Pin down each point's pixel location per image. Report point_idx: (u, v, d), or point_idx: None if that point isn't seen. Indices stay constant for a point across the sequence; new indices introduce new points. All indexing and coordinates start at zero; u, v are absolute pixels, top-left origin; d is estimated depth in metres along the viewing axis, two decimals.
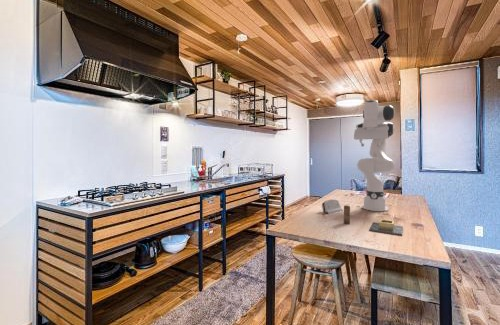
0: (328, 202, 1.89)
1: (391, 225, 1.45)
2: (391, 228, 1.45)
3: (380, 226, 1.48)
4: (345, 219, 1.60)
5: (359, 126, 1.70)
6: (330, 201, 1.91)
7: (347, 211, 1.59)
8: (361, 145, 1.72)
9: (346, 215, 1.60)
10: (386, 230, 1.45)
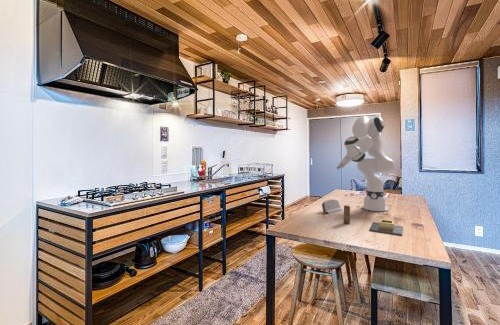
0: (328, 202, 1.89)
1: (391, 225, 1.45)
2: (391, 228, 1.45)
3: (380, 226, 1.48)
4: (345, 219, 1.60)
5: (360, 153, 1.64)
6: (330, 201, 1.91)
7: (347, 211, 1.59)
8: (343, 163, 1.63)
9: (346, 215, 1.60)
10: (386, 230, 1.45)
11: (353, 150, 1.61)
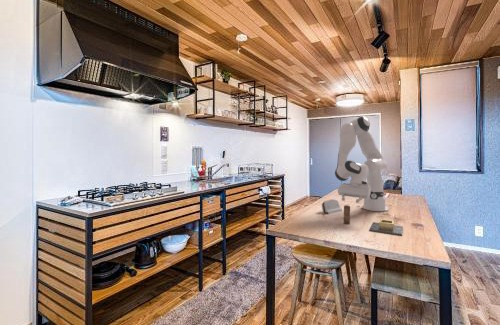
0: (328, 202, 1.89)
1: (391, 225, 1.45)
2: (391, 228, 1.45)
3: (380, 226, 1.48)
4: (345, 219, 1.60)
5: None
6: (330, 201, 1.91)
7: (347, 211, 1.59)
8: (358, 202, 1.64)
9: (346, 215, 1.60)
10: (386, 230, 1.45)
11: (369, 190, 1.64)
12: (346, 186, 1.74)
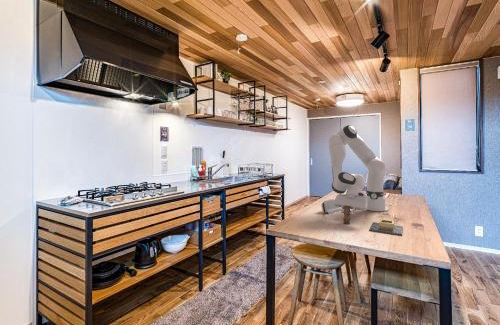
0: (328, 202, 1.89)
1: (391, 225, 1.45)
2: (391, 228, 1.45)
3: (380, 226, 1.48)
4: (345, 219, 1.60)
5: None
6: (329, 201, 1.91)
7: (347, 211, 1.59)
8: None
9: (346, 215, 1.60)
10: (386, 230, 1.45)
11: (366, 202, 1.58)
12: (342, 197, 1.68)
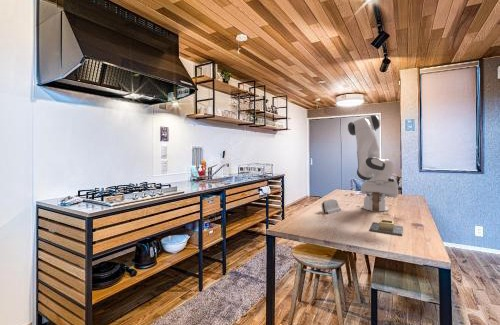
0: (327, 202, 1.89)
1: (391, 225, 1.45)
2: (391, 228, 1.45)
3: (380, 226, 1.48)
4: (374, 206, 1.51)
5: None
6: (329, 201, 1.91)
7: (376, 198, 1.50)
8: (381, 201, 1.50)
9: (375, 202, 1.50)
10: (386, 230, 1.45)
11: (397, 188, 1.49)
12: (370, 184, 1.59)
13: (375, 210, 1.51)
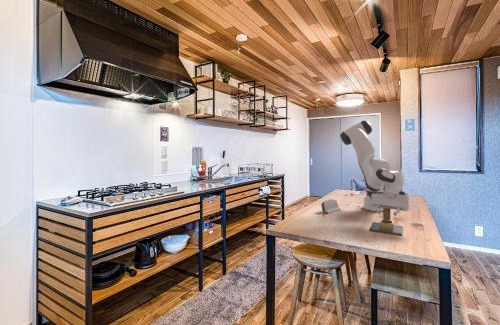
0: (327, 202, 1.89)
1: (391, 225, 1.45)
2: (391, 228, 1.45)
3: (380, 226, 1.48)
4: None
5: None
6: (329, 201, 1.91)
7: (387, 214, 1.48)
8: None
9: (386, 218, 1.48)
10: (386, 230, 1.45)
11: (408, 202, 1.46)
12: (380, 196, 1.56)
13: None
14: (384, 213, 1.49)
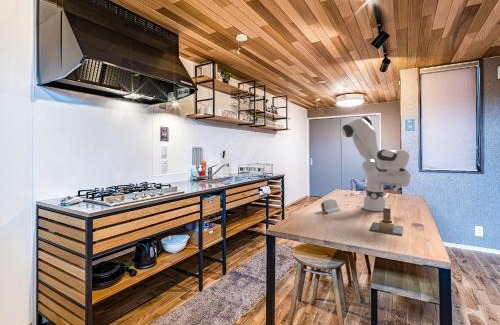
0: (327, 202, 1.90)
1: (391, 225, 1.45)
2: (391, 228, 1.45)
3: (380, 226, 1.48)
4: None
5: None
6: (329, 201, 1.91)
7: (387, 214, 1.48)
8: None
9: (386, 218, 1.48)
10: (386, 230, 1.45)
11: (407, 178, 1.53)
12: (383, 174, 1.65)
13: None
14: (384, 213, 1.49)
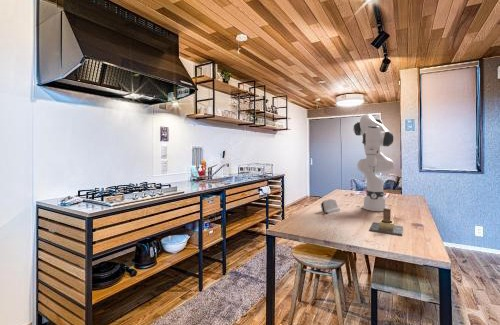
0: (327, 202, 1.90)
1: (391, 225, 1.45)
2: (391, 228, 1.45)
3: (380, 226, 1.48)
4: None
5: (377, 152, 1.58)
6: (328, 201, 1.91)
7: (388, 214, 1.47)
8: (372, 172, 1.61)
9: (386, 218, 1.48)
10: (386, 230, 1.45)
11: (369, 158, 1.58)
12: None
13: None
14: (384, 213, 1.48)
